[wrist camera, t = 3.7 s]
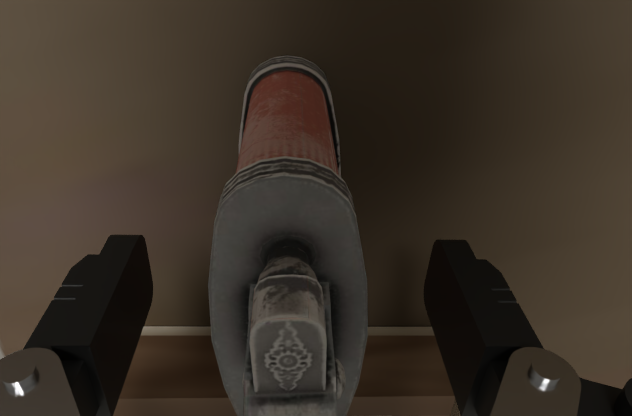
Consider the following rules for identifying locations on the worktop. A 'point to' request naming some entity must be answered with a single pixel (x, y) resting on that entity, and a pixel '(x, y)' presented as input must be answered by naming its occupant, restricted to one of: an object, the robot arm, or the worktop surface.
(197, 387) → the walnut holder
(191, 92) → the worktop surface
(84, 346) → the robot arm
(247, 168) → the lighter
